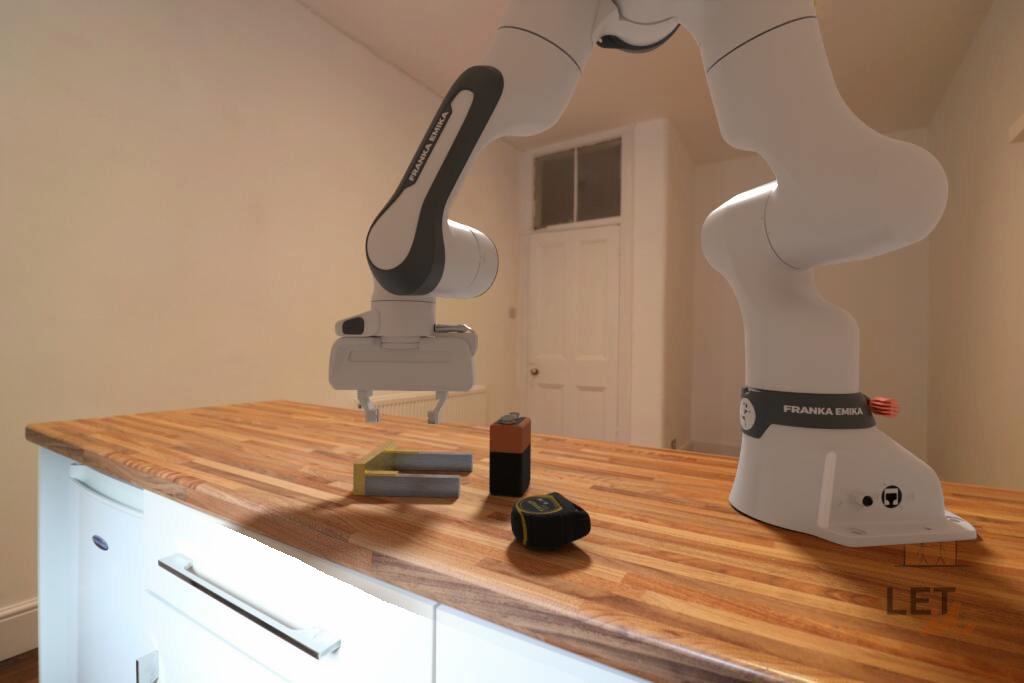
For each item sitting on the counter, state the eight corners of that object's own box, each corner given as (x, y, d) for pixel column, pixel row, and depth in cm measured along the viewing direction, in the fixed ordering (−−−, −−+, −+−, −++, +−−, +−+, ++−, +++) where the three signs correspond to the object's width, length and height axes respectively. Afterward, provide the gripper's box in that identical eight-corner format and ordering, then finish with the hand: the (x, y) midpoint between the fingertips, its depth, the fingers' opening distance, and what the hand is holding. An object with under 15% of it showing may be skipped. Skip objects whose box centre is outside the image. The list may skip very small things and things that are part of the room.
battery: (488, 495, 57) (488, 417, 57) (501, 479, 64) (501, 409, 64) (521, 498, 56) (522, 419, 56) (531, 482, 63) (531, 410, 63)
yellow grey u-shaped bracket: (472, 469, 68) (473, 443, 68) (458, 498, 56) (458, 466, 56) (386, 466, 69) (386, 441, 69) (353, 494, 57) (353, 463, 57)
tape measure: (596, 546, 41) (592, 505, 41) (527, 565, 39) (522, 522, 39) (565, 521, 48) (561, 486, 48) (504, 536, 46) (500, 499, 46)
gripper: (480, 325, 65) (479, 420, 65) (343, 324, 66) (343, 417, 66) (474, 323, 59) (473, 428, 59) (323, 323, 60) (322, 425, 60)
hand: (403, 422), depth 63 cm, fingers open, 7 cm apart
